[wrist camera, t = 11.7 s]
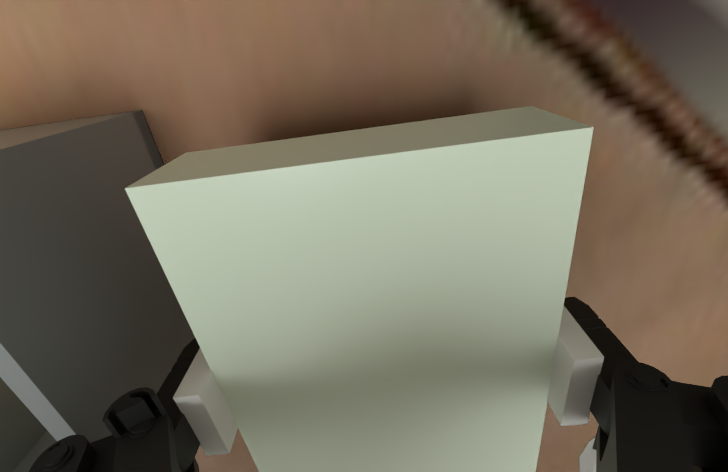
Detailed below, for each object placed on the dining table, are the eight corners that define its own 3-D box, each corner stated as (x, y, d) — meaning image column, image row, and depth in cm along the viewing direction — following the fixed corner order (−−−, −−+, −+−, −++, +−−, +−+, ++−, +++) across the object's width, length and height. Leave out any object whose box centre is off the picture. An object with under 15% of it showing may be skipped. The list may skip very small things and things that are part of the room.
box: (122, 341, 20) (-32, 529, 12) (-7, 131, 15) (-435, 227, 7) (231, 330, 20) (144, 516, 12) (141, 110, 14) (-130, 185, 6)
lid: (298, 403, 19) (278, 514, 14) (211, 137, 12) (124, 188, 8) (490, 386, 18) (531, 495, 14) (505, 97, 12) (593, 127, 7)
